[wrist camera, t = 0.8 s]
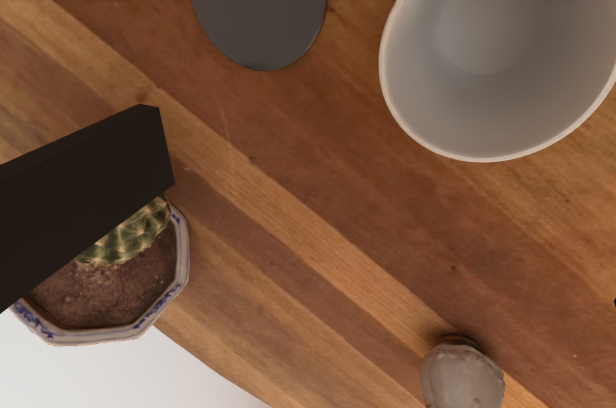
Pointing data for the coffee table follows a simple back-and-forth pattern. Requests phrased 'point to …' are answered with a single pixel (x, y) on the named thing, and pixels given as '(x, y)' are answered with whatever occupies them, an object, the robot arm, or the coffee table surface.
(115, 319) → the potted plant
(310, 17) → the coaster
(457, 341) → the figurine
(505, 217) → the coffee table surface
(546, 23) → the mug
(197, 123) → the coffee table surface
